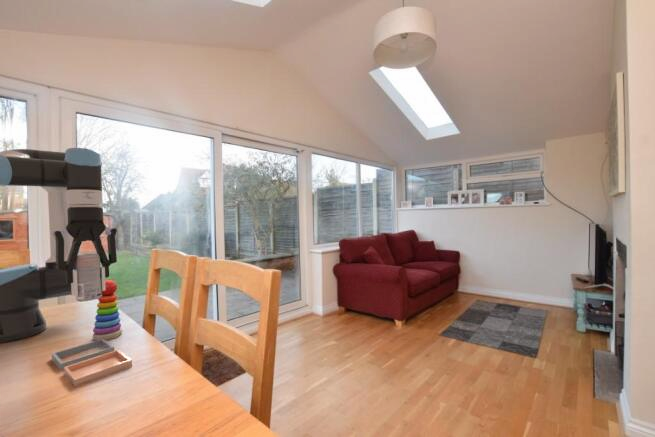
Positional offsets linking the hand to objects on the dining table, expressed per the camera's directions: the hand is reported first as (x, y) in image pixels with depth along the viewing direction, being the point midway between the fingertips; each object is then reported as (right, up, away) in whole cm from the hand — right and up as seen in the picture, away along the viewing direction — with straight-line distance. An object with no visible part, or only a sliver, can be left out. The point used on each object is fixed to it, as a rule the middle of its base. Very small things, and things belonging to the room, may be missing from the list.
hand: (89, 292), depth 81 cm
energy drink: (0, -2, 0) cm, 2 cm away
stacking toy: (-9, -20, +19) cm, 29 cm away
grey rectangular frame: (-5, -20, +5) cm, 21 cm away
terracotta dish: (+5, -20, -3) cm, 20 cm away
